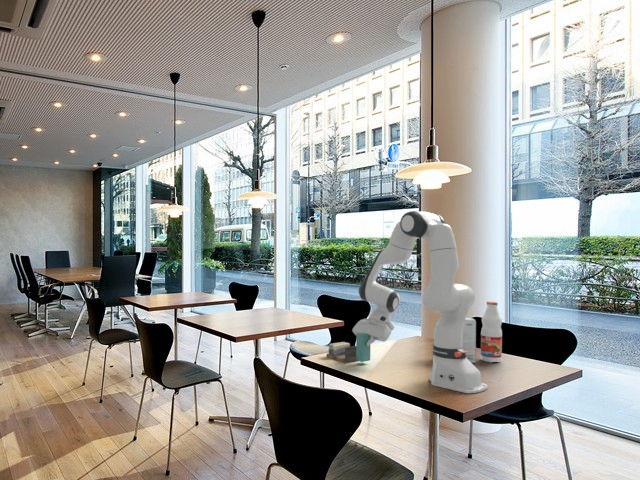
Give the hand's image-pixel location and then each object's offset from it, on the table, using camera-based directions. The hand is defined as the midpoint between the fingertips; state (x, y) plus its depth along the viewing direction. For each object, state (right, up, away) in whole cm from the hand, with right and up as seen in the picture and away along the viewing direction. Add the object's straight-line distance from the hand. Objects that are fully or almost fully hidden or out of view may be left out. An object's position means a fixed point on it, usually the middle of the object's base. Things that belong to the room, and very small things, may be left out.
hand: (362, 344), depth 208 cm
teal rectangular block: (0, -7, 0) cm, 7 cm away
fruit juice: (+63, -10, +12) cm, 65 cm away
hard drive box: (+46, -10, +10) cm, 48 cm away
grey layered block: (-7, -9, +10) cm, 15 cm away
